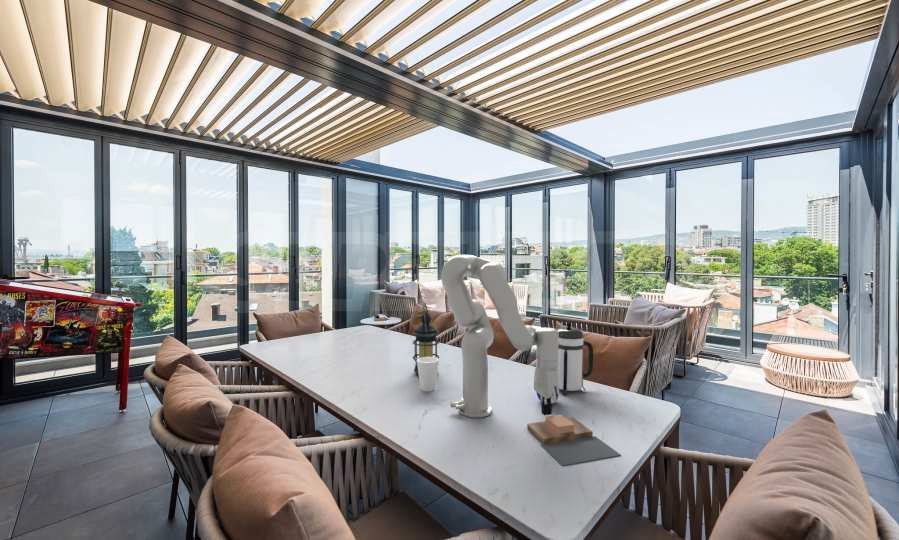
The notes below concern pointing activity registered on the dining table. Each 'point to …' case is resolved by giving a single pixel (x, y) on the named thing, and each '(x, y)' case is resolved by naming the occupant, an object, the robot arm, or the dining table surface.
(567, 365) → the coffee press
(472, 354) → the robot arm
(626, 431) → the dining table surface
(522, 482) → the dining table surface
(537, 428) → the deck
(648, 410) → the dining table surface
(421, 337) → the lantern
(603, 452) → the mat
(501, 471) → the dining table surface
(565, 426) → the tile
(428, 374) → the foam cup
